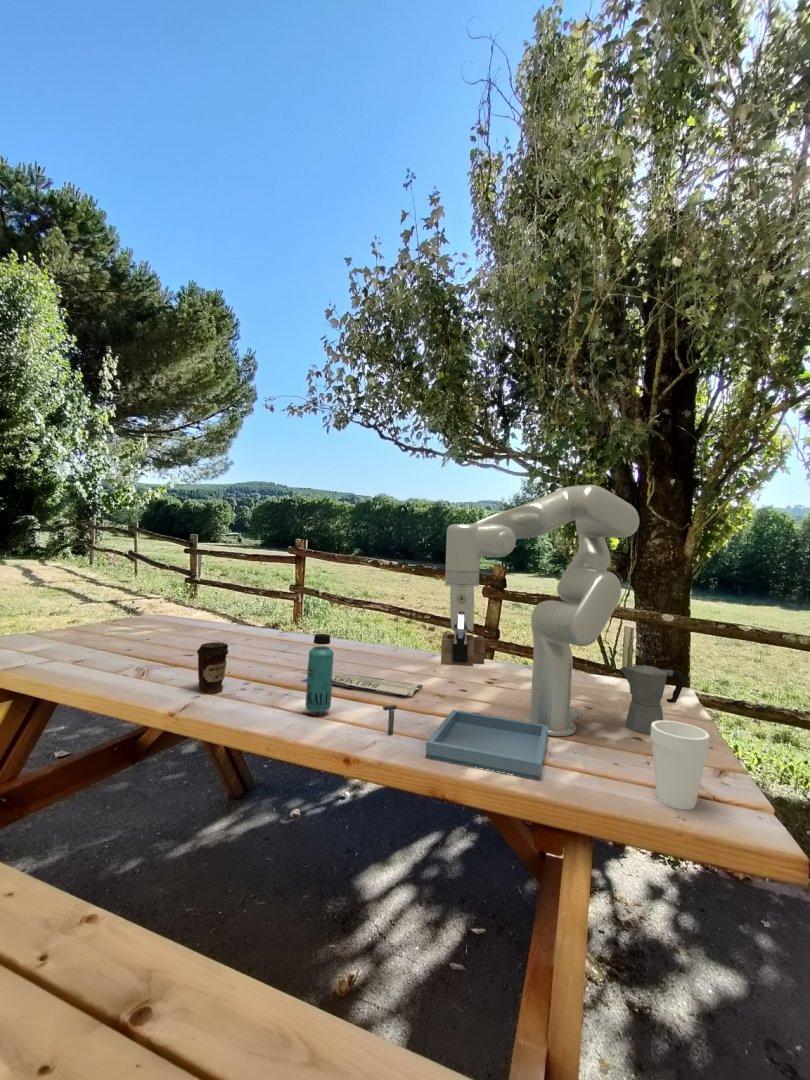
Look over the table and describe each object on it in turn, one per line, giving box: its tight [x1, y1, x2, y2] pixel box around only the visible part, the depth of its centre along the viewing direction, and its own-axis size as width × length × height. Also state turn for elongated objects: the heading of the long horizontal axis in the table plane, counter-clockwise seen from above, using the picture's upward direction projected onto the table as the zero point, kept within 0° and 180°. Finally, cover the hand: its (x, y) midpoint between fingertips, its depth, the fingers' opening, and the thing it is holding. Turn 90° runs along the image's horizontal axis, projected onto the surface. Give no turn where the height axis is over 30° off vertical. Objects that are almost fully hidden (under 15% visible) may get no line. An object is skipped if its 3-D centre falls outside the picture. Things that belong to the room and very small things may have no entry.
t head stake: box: [382, 704, 397, 736], centre depth 117 cm, size 3×1×6 cm, turn 116°
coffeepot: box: [619, 658, 686, 736], centre depth 131 cm, size 15×9×18 cm, turn 76°
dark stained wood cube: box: [440, 632, 486, 667], centre depth 115 cm, size 10×7×6 cm
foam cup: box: [649, 720, 710, 811], centre depth 93 cm, size 10×9×13 cm
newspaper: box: [302, 670, 423, 698], centre depth 155 cm, size 35×12×4 cm, turn 72°
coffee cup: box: [196, 641, 229, 694], centre depth 142 cm, size 9×8×13 cm
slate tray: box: [425, 709, 549, 781], centre depth 113 cm, size 23×23×3 cm
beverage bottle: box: [304, 633, 335, 713], centre depth 129 cm, size 6×7×20 cm
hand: (459, 657), depth 115 cm, fingers closed on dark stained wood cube, 6 cm apart
